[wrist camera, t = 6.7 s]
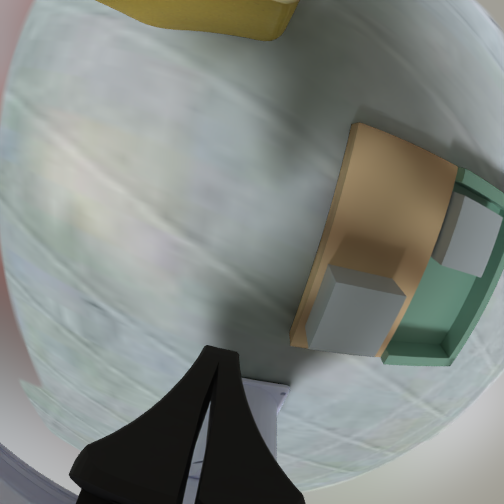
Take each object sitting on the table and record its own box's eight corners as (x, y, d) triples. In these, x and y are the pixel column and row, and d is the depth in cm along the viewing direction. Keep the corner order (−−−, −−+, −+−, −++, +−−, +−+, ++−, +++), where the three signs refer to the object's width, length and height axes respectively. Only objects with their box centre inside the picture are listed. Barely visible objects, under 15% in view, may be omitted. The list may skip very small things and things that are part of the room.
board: (375, 345, 21) (380, 357, 20) (289, 332, 21) (290, 345, 20) (445, 164, 15) (458, 167, 14) (351, 124, 15) (359, 122, 14)
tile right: (464, 264, 18) (481, 277, 15) (424, 251, 17) (441, 265, 15) (484, 209, 16) (503, 217, 13) (445, 188, 16) (465, 195, 13)
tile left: (365, 335, 19) (374, 357, 17) (304, 326, 19) (308, 349, 16) (392, 278, 17) (406, 296, 15) (327, 264, 17) (336, 282, 15)
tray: (440, 350, 21) (450, 366, 19) (375, 345, 21) (383, 364, 19) (505, 200, 15) (523, 208, 13) (445, 164, 15) (465, 168, 13)
